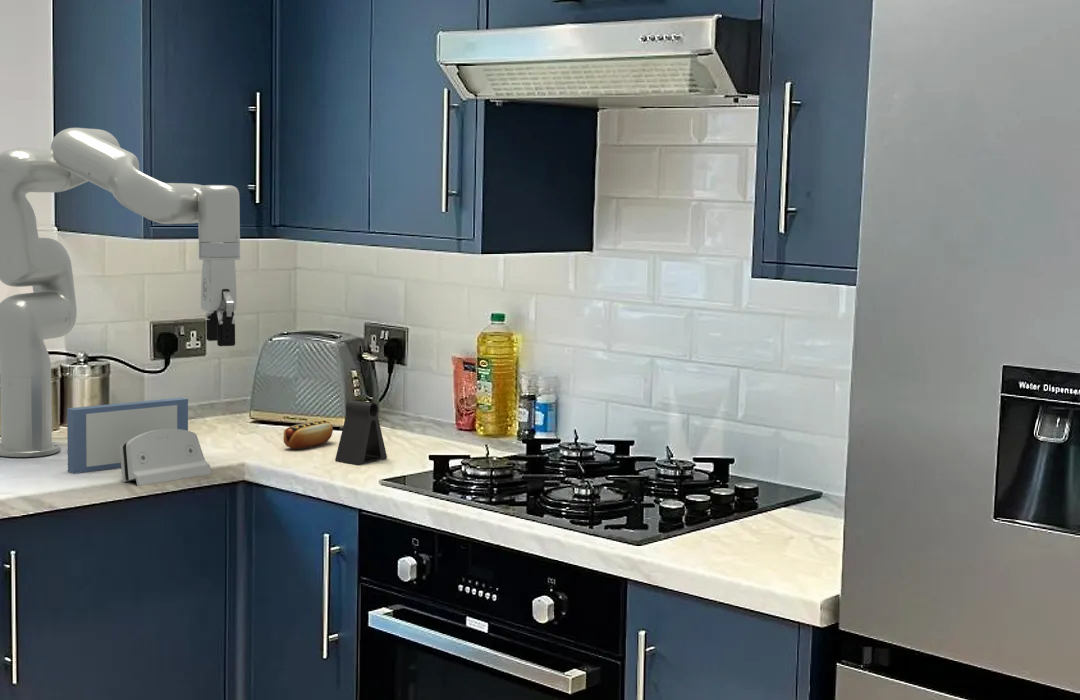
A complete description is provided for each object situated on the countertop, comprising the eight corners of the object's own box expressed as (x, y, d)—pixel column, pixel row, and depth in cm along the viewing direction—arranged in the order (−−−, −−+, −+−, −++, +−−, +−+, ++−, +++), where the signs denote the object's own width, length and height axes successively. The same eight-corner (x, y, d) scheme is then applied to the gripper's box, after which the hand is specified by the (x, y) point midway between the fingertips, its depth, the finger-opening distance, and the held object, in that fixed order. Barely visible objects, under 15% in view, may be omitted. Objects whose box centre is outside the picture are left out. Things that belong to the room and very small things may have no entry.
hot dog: (338, 443, 305) (338, 420, 304) (297, 453, 294) (298, 429, 293) (320, 440, 308) (320, 418, 307) (279, 450, 296) (279, 426, 295)
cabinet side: (67, 471, 269) (67, 408, 267) (181, 456, 285) (181, 397, 284) (74, 473, 267) (73, 410, 266) (188, 459, 284) (188, 399, 282)
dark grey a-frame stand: (364, 455, 293) (365, 397, 292) (387, 459, 290) (388, 400, 288) (334, 461, 286) (335, 402, 284) (357, 465, 282) (358, 405, 281)
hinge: (137, 486, 258) (126, 432, 259) (123, 490, 261) (112, 437, 262) (213, 473, 271) (202, 422, 272) (198, 478, 274) (188, 427, 275)
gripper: (190, 249, 273) (191, 339, 275) (208, 254, 257) (210, 348, 259) (229, 249, 276) (230, 337, 278) (250, 253, 260) (251, 347, 262)
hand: (220, 343), depth 268 cm, fingers open, 9 cm apart
